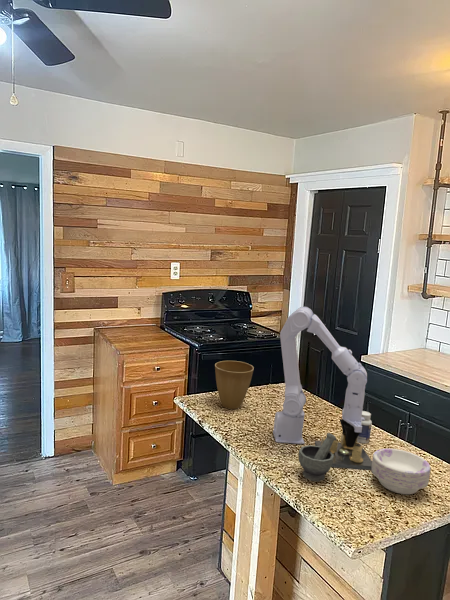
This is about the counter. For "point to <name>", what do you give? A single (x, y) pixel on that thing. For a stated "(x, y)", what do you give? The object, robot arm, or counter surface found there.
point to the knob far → (343, 442)
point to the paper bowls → (400, 470)
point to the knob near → (357, 454)
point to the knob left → (334, 445)
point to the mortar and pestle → (317, 459)
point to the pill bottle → (365, 428)
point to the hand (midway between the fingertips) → (348, 444)
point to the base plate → (343, 458)
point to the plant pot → (233, 382)
